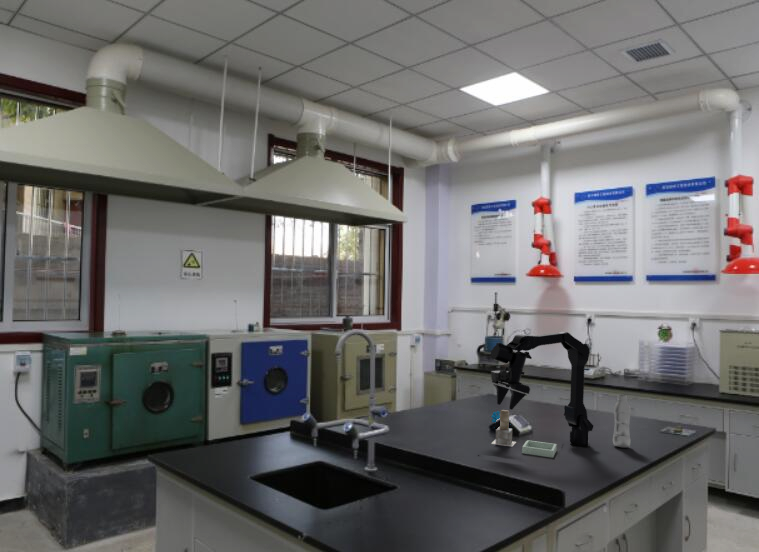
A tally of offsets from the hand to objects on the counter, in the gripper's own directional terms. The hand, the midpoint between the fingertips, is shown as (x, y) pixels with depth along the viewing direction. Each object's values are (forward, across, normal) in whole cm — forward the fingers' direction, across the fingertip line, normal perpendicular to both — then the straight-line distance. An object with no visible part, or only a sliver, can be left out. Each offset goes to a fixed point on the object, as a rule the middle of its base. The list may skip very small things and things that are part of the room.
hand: (504, 406), depth 212 cm
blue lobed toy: (+11, -27, +18) cm, 34 cm away
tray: (+13, +12, +12) cm, 21 cm away
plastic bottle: (+2, +6, +51) cm, 51 cm away
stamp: (+13, -1, +5) cm, 14 cm away
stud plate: (+14, -1, +5) cm, 15 cm away
